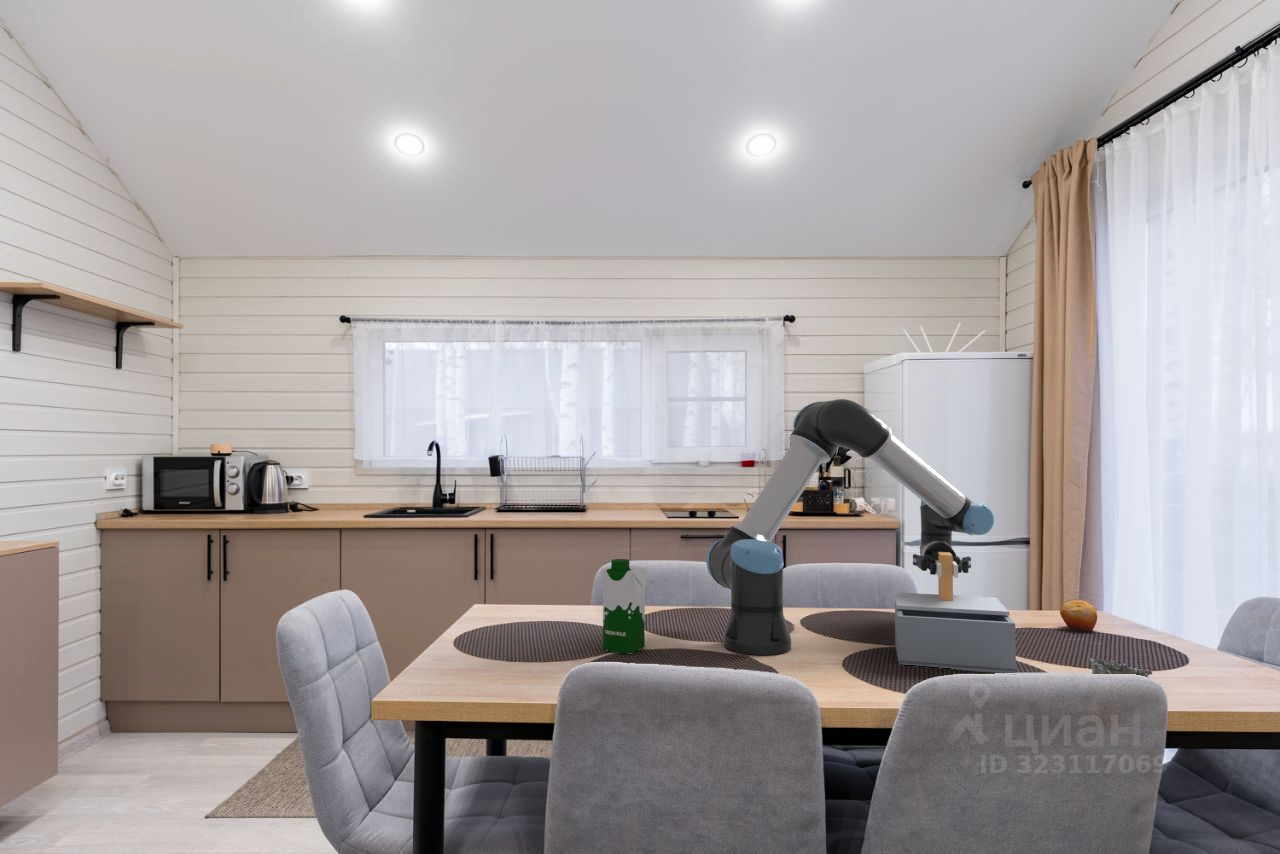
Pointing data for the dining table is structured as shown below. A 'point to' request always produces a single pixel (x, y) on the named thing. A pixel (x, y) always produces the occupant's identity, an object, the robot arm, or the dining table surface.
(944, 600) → the box lid with handle
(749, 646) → the robot arm
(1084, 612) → the fruit
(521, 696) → the dining table surface
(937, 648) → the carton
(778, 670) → the dining table surface
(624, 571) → the milk carton
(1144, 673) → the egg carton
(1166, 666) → the dining table surface
